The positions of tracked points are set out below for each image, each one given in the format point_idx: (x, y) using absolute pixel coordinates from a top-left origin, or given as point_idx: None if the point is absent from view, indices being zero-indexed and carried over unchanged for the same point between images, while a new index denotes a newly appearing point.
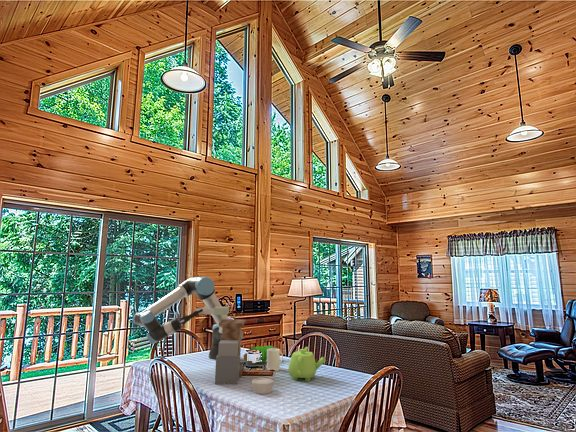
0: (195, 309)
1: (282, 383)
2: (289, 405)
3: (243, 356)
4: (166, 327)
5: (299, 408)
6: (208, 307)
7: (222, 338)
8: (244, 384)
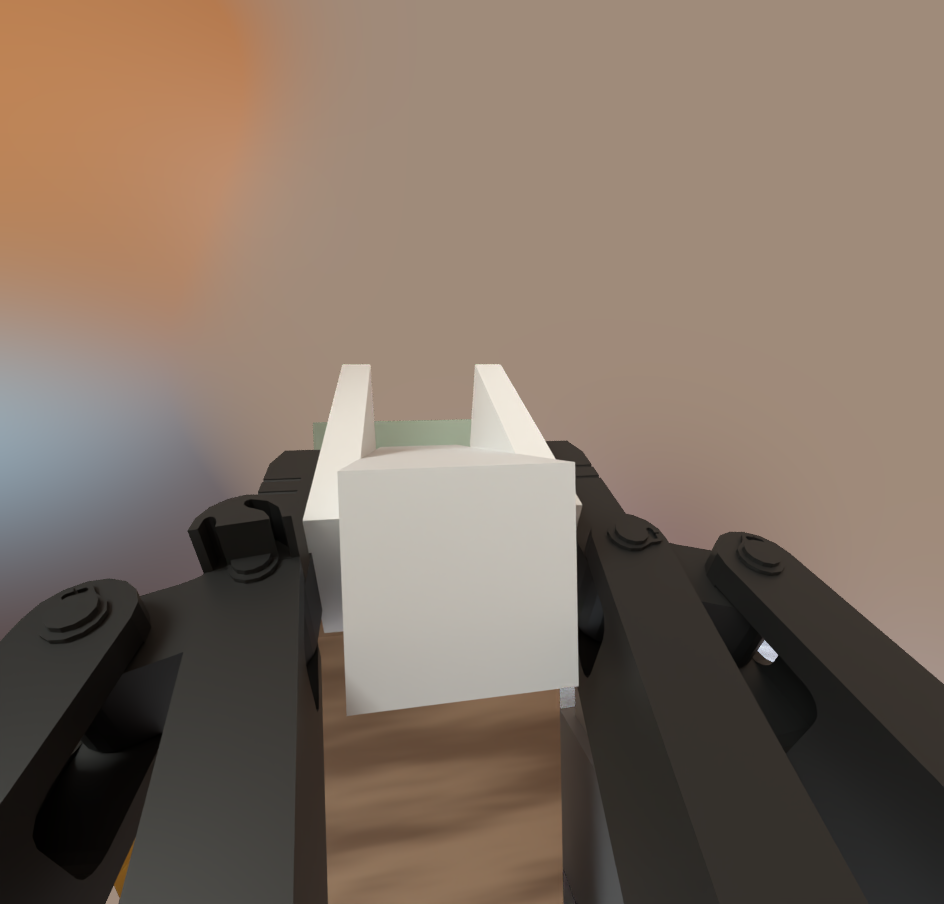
0: (562, 483)
1: (564, 690)
2: (766, 657)
3: (115, 886)
4: None
5: (765, 643)
6: (373, 425)
7: (557, 714)
8: None
